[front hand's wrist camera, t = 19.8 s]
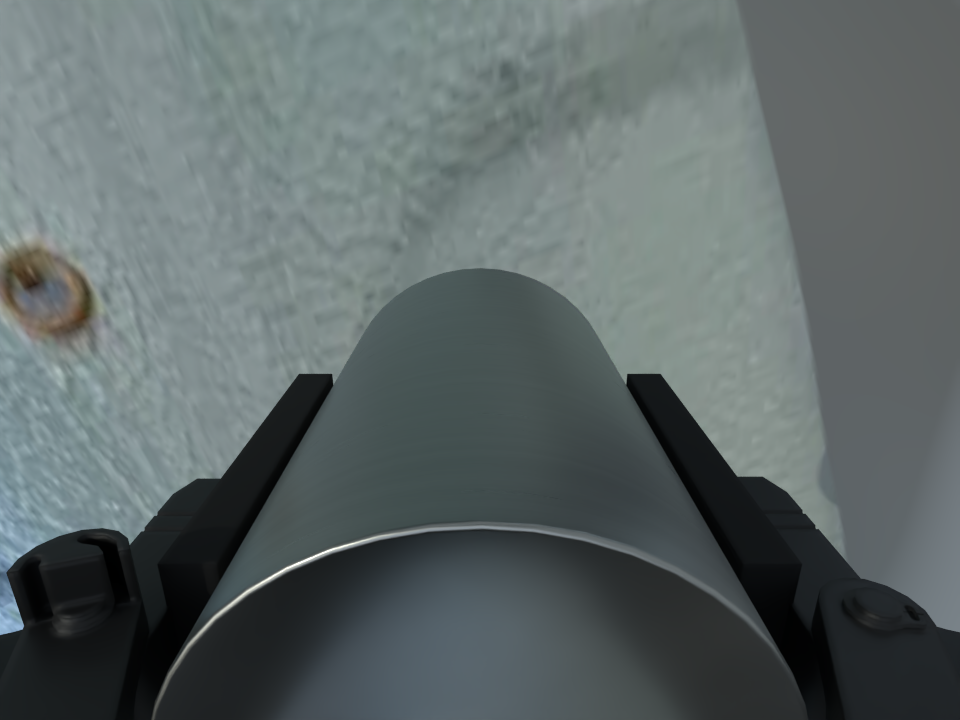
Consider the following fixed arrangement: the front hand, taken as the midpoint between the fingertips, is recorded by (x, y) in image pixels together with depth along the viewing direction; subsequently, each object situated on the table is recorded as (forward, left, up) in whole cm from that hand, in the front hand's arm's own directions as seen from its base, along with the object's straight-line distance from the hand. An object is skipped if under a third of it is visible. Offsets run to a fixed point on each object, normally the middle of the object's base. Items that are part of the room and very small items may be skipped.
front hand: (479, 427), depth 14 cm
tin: (0, 0, -2) cm, 2 cm away
